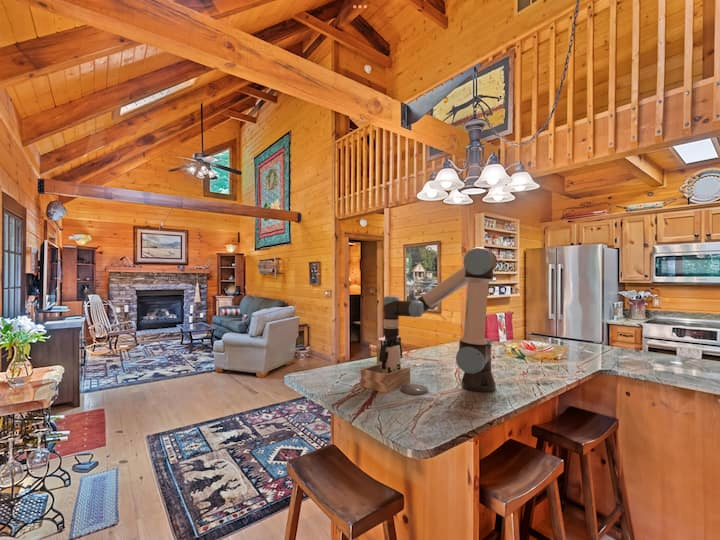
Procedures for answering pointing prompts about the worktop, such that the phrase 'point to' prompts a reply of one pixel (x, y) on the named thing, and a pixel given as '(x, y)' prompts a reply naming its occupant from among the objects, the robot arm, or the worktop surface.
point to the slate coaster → (414, 389)
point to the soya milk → (393, 358)
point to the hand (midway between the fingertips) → (391, 373)
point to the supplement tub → (379, 349)
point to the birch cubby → (384, 378)
